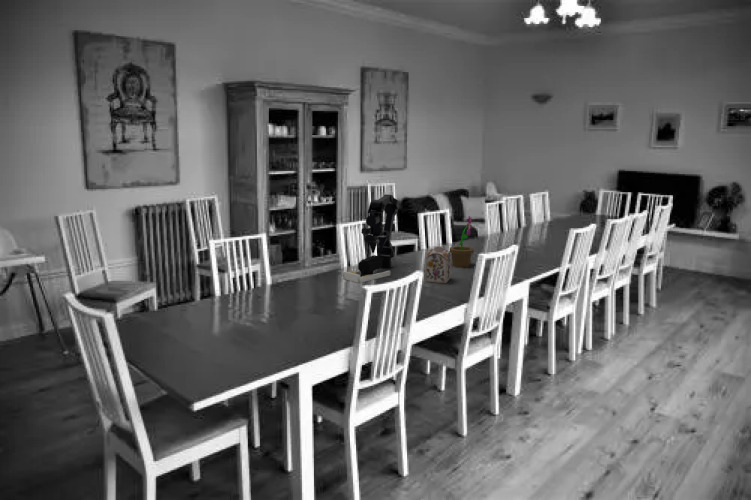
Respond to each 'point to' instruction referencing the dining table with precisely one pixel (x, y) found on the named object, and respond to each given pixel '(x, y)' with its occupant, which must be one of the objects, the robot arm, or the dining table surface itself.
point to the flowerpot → (462, 250)
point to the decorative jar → (438, 265)
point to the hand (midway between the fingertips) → (377, 251)
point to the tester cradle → (356, 277)
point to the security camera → (369, 265)
